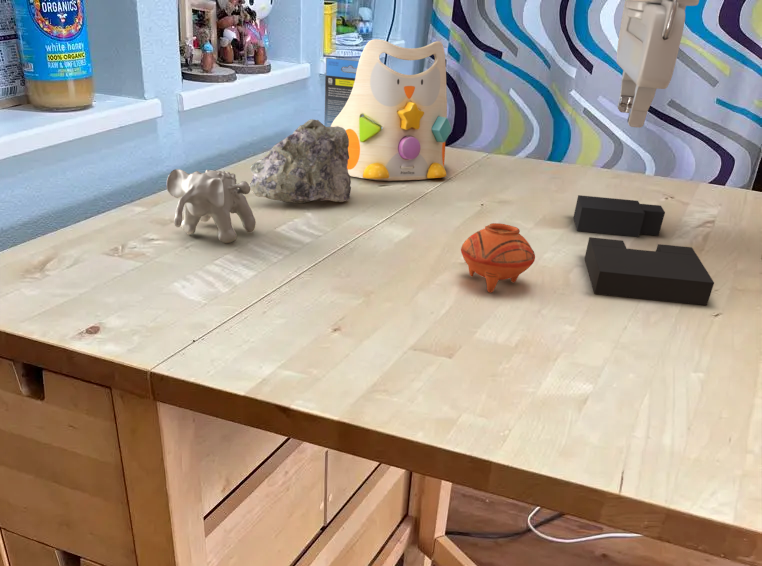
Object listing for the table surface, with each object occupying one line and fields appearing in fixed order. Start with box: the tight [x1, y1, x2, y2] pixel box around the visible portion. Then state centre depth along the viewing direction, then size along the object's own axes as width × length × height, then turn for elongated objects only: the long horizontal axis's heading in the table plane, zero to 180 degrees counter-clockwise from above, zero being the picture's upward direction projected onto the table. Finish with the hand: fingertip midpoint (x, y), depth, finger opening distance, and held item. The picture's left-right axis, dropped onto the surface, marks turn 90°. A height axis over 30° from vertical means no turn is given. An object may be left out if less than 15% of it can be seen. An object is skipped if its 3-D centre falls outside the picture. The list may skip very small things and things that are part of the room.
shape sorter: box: [331, 38, 453, 182], centre depth 119 cm, size 20×10×18 cm, turn 111°
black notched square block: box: [584, 237, 715, 306], centre depth 91 cm, size 12×12×2 cm
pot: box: [460, 222, 536, 294], centre depth 87 cm, size 8×8×7 cm
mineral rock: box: [249, 118, 352, 204], centre depth 107 cm, size 13×11×10 cm
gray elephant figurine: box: [166, 168, 257, 244], centre depth 92 cm, size 9×12×8 cm
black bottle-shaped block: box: [572, 194, 666, 238], centre depth 107 cm, size 6×11×3 cm, turn 82°
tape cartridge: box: [323, 57, 365, 127], centre depth 138 cm, size 9×4×12 cm, turn 74°
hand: (629, 118), depth 100 cm, fingers open, 8 cm apart
